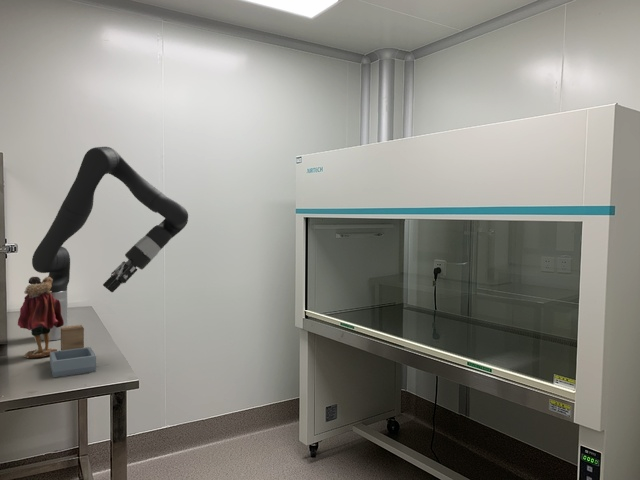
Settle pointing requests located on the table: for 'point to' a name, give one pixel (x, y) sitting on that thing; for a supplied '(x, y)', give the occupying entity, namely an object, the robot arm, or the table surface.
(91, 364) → the open box
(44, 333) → the figurine
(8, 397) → the table surface
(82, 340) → the tan wooden block
